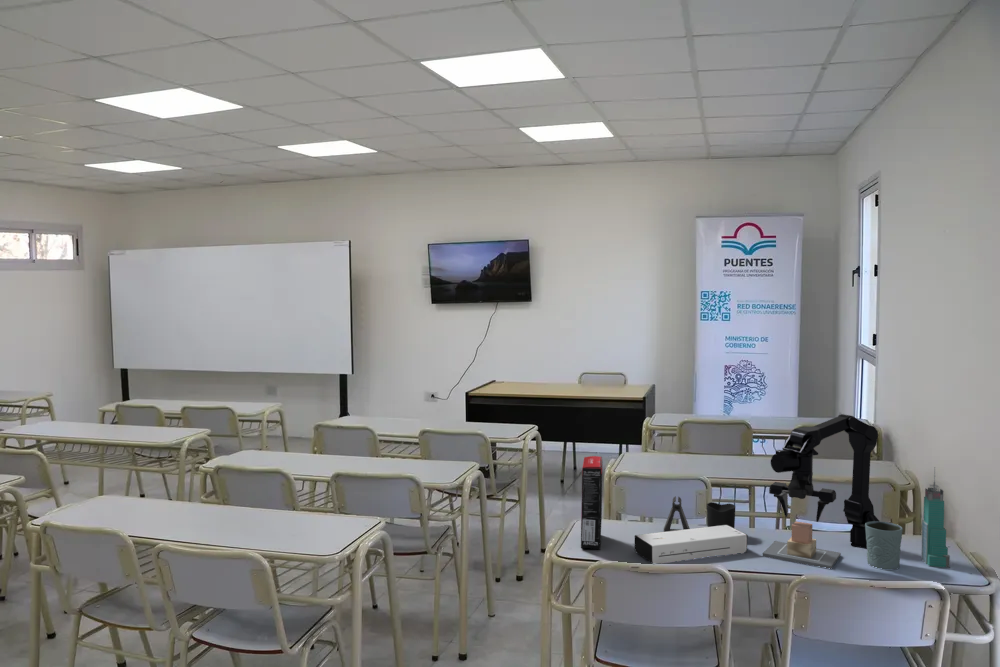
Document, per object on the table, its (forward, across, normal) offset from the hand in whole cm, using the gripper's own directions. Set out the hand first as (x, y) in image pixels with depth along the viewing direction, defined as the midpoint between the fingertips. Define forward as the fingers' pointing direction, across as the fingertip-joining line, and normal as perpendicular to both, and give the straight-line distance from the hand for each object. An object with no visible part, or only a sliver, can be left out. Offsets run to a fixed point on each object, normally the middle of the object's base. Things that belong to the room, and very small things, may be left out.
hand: (801, 519), depth 231 cm
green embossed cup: (+12, +22, +6) cm, 26 cm away
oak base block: (+12, 0, 0) cm, 12 cm away
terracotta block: (+7, 0, 0) cm, 7 cm away
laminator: (+12, -30, -16) cm, 36 cm away
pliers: (+12, -41, 0) cm, 43 cm away
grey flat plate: (+12, 0, 0) cm, 12 cm away
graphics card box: (+12, -61, -25) cm, 67 cm away
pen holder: (+12, -28, +7) cm, 31 cm away
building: (+12, +35, +16) cm, 40 cm away
